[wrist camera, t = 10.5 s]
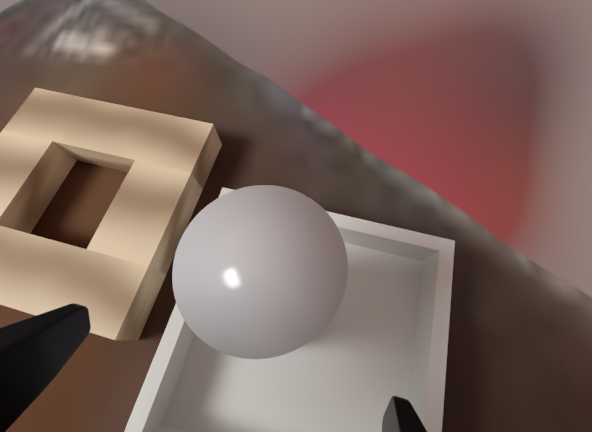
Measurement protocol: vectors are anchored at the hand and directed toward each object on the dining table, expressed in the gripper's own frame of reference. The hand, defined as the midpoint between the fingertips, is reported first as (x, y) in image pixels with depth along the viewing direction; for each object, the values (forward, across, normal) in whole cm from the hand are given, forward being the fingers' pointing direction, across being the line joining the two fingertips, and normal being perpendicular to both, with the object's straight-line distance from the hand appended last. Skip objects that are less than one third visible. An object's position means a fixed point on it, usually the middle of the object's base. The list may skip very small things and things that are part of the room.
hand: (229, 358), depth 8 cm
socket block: (+12, +16, +3) cm, 20 cm away
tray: (+8, -2, +7) cm, 11 cm away
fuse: (+9, 0, +5) cm, 10 cm away
